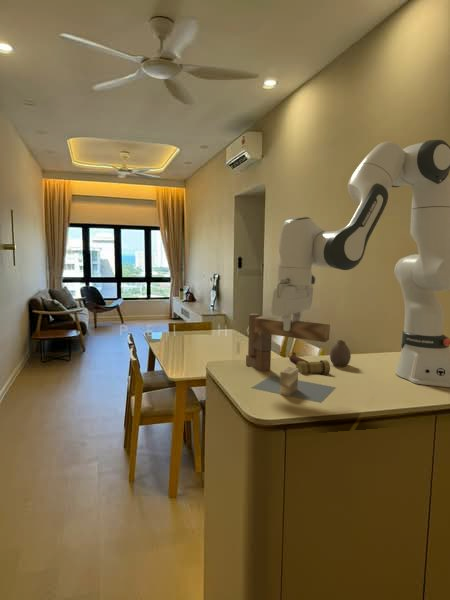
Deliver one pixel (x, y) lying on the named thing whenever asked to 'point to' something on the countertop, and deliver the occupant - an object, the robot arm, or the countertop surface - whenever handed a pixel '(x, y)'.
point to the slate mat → (304, 389)
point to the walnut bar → (293, 329)
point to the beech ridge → (288, 381)
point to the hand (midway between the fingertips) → (291, 329)
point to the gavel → (310, 366)
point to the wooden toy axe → (258, 347)
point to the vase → (340, 354)
